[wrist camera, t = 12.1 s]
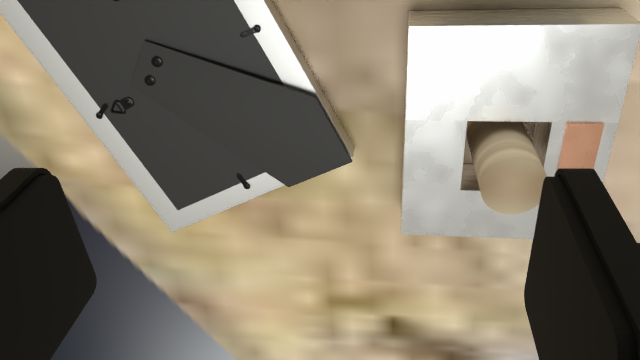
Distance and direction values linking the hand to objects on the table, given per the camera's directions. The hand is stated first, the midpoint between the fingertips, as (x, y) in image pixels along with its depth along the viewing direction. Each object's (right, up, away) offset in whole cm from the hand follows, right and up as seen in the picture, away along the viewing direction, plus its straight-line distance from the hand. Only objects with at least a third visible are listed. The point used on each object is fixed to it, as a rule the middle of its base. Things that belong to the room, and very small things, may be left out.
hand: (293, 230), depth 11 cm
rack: (+12, +8, +23) cm, 27 cm away
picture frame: (-9, +9, +27) cm, 30 cm away
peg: (+12, +4, +25) cm, 29 cm away
